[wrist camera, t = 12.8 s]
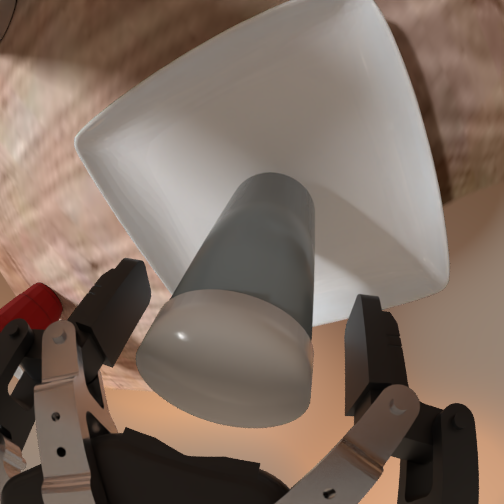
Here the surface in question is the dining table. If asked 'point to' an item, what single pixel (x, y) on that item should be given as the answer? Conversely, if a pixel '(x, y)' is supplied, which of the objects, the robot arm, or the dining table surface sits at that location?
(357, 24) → the salad plate
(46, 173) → the dining table surface
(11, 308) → the plastic cup
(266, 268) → the shaker
